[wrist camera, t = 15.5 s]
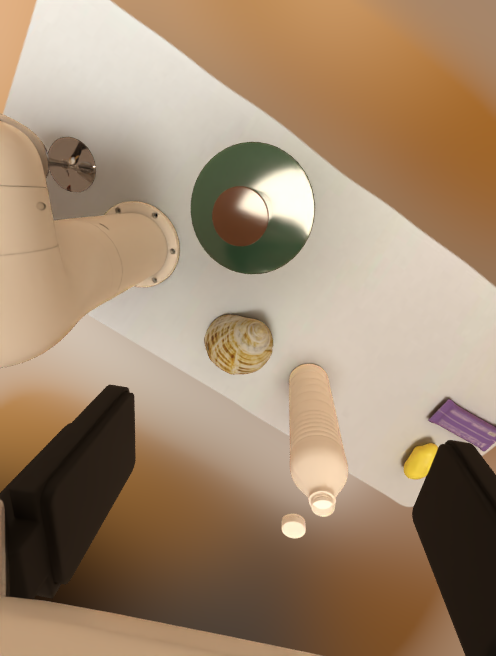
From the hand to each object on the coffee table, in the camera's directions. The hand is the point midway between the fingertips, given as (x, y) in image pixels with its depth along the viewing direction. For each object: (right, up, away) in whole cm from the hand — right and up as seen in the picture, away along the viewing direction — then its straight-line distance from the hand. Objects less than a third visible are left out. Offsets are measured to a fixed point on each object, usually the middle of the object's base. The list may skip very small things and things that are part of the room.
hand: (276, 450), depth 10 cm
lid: (-1, +11, +12) cm, 16 cm away
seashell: (-2, +3, +44) cm, 44 cm away
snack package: (+34, -15, +45) cm, 58 cm away
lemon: (+29, -18, +48) cm, 59 cm away
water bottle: (+9, -6, +46) cm, 47 cm away
